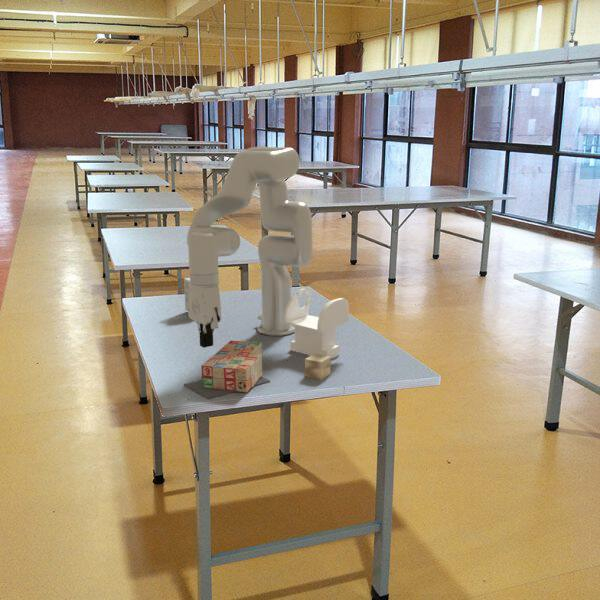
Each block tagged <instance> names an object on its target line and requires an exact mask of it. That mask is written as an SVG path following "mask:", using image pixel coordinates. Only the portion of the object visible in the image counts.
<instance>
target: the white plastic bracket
mask: <svg viewBox="0 0 600 600" xmlns="http://www.w3.org/2000/svg"><path fill="white" fill-rule="evenodd" d="M303 293H305V294H306V302H305V304H304V306H303V307H301V306H300V304H299V298H300V296H301V295H302V294H303ZM311 303H312V294H311V292H310V290H309V289H307V288H300V289H298V291H297V292H296V293H295V295H293V296H291V299H290V301H289V302H288V304H287V306H286V309H285V313H284V323H285V324H289V325H293V326H295V332H294V340H291V341H289V342H290V346H289V347H290V349H289V350H290V351H291V350H293V351H292V352H295V351H297V352H296V353H298V352H301V353H300V354H302V353H304V354H303V355H305V354H308V355H307V356H309V355H313V354H318V355H323V356H329V357H330V360H331V359H334V358H337V357H339V356H340V345H336V328H337V327H341V326H343V325H344V323H347V322H349V321H350V303H349V300H348V299H347V298H344V297H343V298H342V297H339V298H335V299H332V300H330V301H328V302H327V303H326V304H325V305H324V306H323V307H322V309H321V311H320V313H319V316H315V315H309V307H310V304H311ZM338 355H339V356H338Z"/></svg>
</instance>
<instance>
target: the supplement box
mask: <svg viewBox="0 0 600 600" xmlns="http://www.w3.org/2000/svg"><path fill="white" fill-rule="evenodd" d="M183 283H184V284H183V286H184V305H185V306H184V307H185V311H186V310H187V311H188V292H189V284H190V277H185V278H183Z"/></svg>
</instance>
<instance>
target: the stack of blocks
mask: <svg viewBox="0 0 600 600" xmlns="http://www.w3.org/2000/svg"><path fill="white" fill-rule="evenodd" d="M262 355H263V353H262V342H261V341H252V340H251V341H246V340H230V341H228V342H227V343H226V344H224V346H223V347H221V348H220V349H219V350H218V351H217V352H216V353H215V354H214V355H212V356H211V357H210V358H209V359H208V360H206V361H205V362H204V363H203V364H202V365H201V377H202V378H201V380H202V383H203V388H208V389H220V390H228V391H235V392H240V393H248V392H249V391H250V390H251V388H253V387H255V386H254V385H255V383H256V382H257V381H258V380H259V378H260V377H263V356H262Z"/></svg>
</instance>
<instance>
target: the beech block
mask: <svg viewBox="0 0 600 600" xmlns="http://www.w3.org/2000/svg"><path fill="white" fill-rule="evenodd" d="M330 375H331V359H330V357H329V356H323V355H318V354H313V355H311V356H309V355H308V357H306V358H304V377H306V376H308V377H307V378H311V377H313V378H312V379H315V378H317V379H316V380H320V379H322V380H323V379H325V378H326V377H328V376H330Z"/></svg>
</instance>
